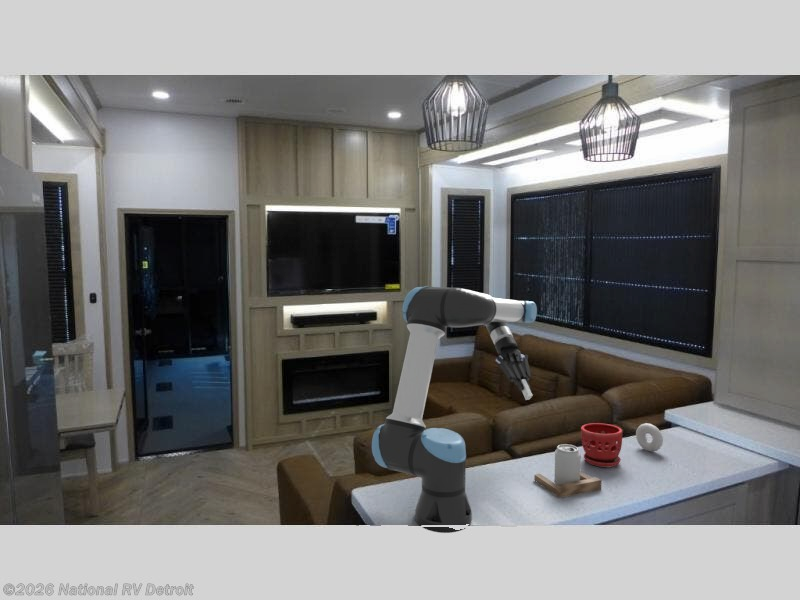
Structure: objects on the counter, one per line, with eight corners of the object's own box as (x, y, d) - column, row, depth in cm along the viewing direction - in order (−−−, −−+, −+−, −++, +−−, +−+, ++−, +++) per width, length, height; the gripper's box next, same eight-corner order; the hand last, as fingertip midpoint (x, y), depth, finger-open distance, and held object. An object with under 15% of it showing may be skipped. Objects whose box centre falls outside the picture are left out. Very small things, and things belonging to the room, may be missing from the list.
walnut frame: (559, 497, 153) (559, 488, 153) (534, 480, 165) (534, 471, 165) (601, 489, 158) (601, 480, 158) (573, 473, 170) (574, 464, 170)
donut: (633, 447, 192) (634, 420, 192) (639, 445, 194) (640, 419, 193) (658, 456, 184) (659, 428, 183) (664, 454, 185) (665, 426, 185)
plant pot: (622, 458, 182) (623, 424, 181) (620, 472, 171) (621, 436, 170) (582, 452, 188) (583, 419, 187) (578, 466, 176) (579, 431, 175)
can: (582, 491, 157) (583, 452, 156) (556, 490, 158) (557, 451, 157) (577, 480, 165) (578, 443, 164) (552, 479, 166) (553, 442, 165)
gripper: (515, 346, 198) (540, 401, 184) (484, 348, 194) (508, 405, 180) (523, 334, 193) (550, 390, 179) (492, 336, 188) (517, 393, 174)
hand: (529, 397), depth 179 cm, fingers closed
